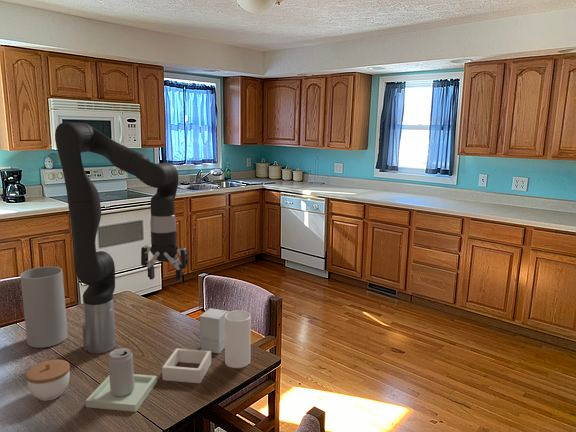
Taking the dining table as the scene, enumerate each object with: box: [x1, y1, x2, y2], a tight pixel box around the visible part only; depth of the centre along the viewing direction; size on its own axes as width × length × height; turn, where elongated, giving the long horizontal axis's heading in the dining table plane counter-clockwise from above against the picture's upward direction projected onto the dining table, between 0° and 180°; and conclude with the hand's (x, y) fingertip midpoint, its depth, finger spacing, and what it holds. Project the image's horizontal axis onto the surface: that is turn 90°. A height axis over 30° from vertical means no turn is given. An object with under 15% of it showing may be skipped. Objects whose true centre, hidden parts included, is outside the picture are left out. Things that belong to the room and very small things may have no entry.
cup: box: [224, 309, 252, 369], centre depth 139 cm, size 8×8×16 cm
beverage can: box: [107, 347, 135, 397], centre depth 121 cm, size 6×6×12 cm
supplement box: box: [199, 307, 229, 354], centre depth 148 cm, size 7×7×13 cm
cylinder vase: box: [19, 266, 69, 349], centre depth 149 cm, size 12×12×25 cm
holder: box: [161, 348, 212, 384], centre depth 134 cm, size 12×12×4 cm
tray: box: [85, 373, 158, 413], centre depth 122 cm, size 14×14×2 cm
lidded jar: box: [25, 359, 71, 402], centre depth 121 cm, size 11×11×9 cm
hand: (165, 279), depth 135 cm, fingers open, 8 cm apart
